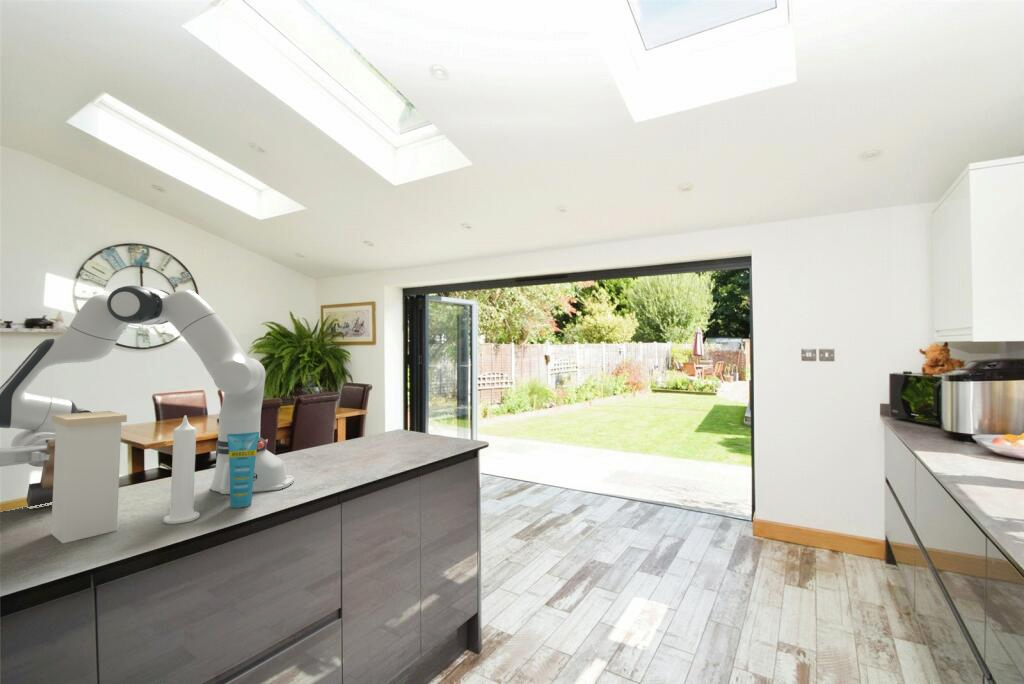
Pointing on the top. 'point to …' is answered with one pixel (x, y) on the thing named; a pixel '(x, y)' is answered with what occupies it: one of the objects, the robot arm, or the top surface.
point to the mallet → (43, 481)
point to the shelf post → (86, 474)
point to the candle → (183, 475)
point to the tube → (242, 467)
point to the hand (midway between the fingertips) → (57, 456)
